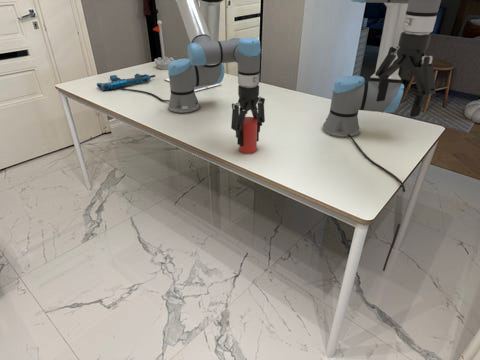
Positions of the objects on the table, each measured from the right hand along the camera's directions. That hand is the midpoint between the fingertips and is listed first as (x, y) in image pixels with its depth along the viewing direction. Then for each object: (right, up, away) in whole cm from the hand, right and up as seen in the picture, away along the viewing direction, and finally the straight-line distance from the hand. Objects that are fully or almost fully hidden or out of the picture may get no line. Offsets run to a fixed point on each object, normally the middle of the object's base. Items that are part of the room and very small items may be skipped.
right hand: (396, 108), depth 102 cm
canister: (-44, -10, +33) cm, 56 cm away
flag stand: (-100, +58, +136) cm, 179 cm away
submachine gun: (-118, +38, +107) cm, 164 cm away
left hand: (-44, -7, +31) cm, 55 cm away
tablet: (-77, +38, +106) cm, 137 cm away
